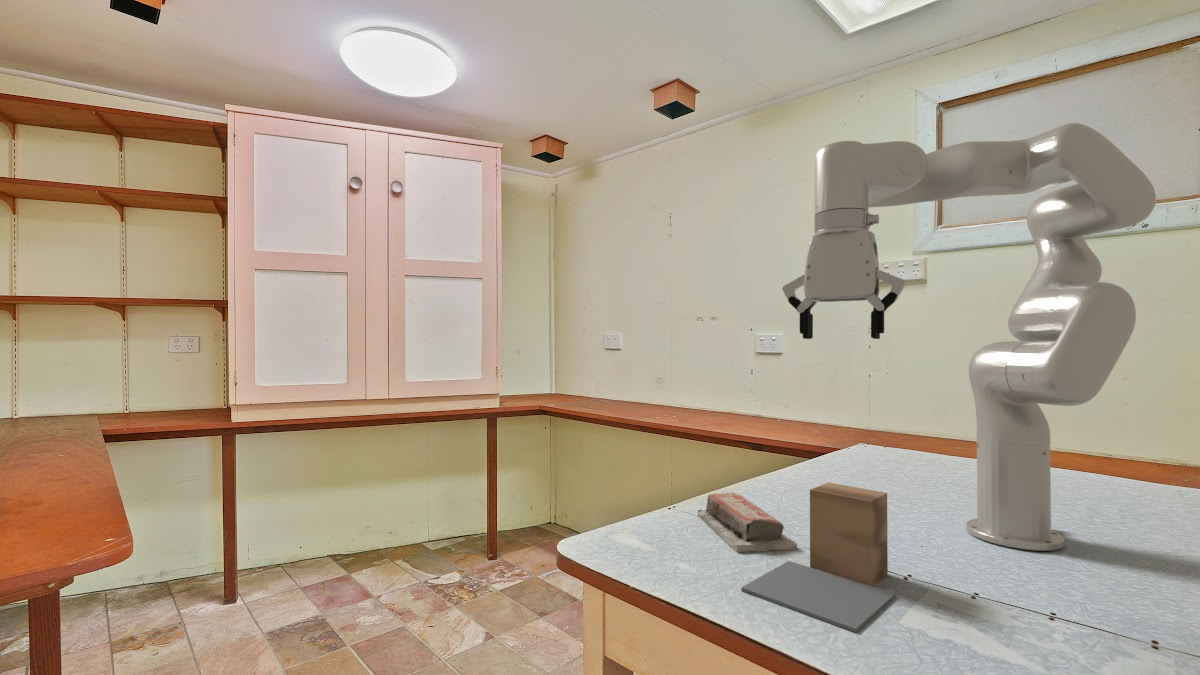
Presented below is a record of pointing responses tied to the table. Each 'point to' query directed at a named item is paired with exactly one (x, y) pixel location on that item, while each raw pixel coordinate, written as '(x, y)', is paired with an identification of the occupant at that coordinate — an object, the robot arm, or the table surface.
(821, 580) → the mat
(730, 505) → the packaged product
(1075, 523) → the table surface
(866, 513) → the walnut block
